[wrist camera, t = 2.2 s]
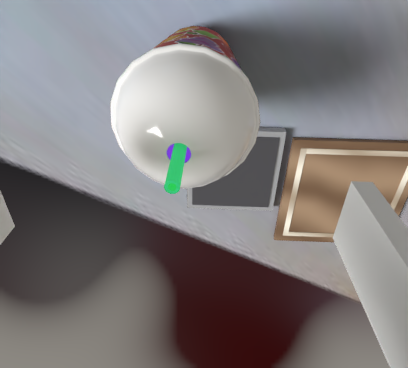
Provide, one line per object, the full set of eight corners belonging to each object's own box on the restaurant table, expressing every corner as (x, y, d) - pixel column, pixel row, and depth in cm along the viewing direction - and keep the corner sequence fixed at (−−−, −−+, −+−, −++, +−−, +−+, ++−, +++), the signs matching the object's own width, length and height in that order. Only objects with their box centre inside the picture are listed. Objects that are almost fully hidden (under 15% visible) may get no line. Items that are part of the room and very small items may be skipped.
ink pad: (186, 125, 33) (186, 129, 32) (284, 128, 32) (286, 132, 31) (187, 202, 38) (187, 208, 37) (271, 205, 38) (272, 211, 37)
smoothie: (151, 103, 31) (78, 251, 15) (152, 7, 27) (48, 67, 10) (234, 112, 32) (255, 268, 15) (250, 19, 27) (305, 96, 10)
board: (292, 137, 33) (294, 140, 32) (428, 141, 33) (432, 144, 32) (273, 236, 41) (274, 240, 40) (383, 240, 41) (386, 244, 40)
